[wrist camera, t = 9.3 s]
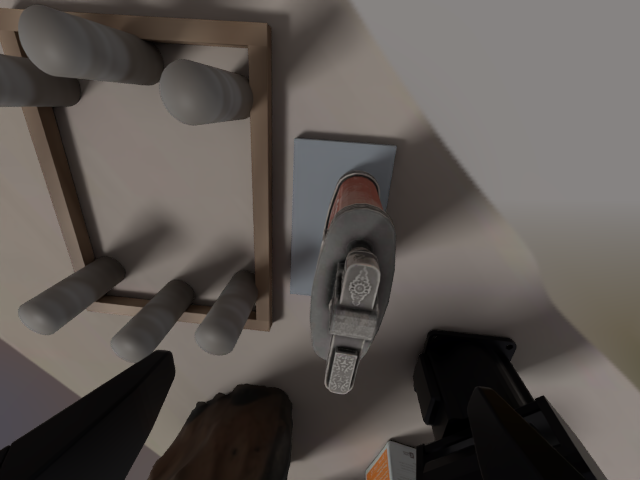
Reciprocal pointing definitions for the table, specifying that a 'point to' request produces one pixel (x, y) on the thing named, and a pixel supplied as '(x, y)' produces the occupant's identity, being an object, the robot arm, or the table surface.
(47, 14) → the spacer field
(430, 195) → the table surface
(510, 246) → the table surface
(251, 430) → the owl
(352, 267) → the lighter
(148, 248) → the table surface
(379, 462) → the skincare box
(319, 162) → the mat
